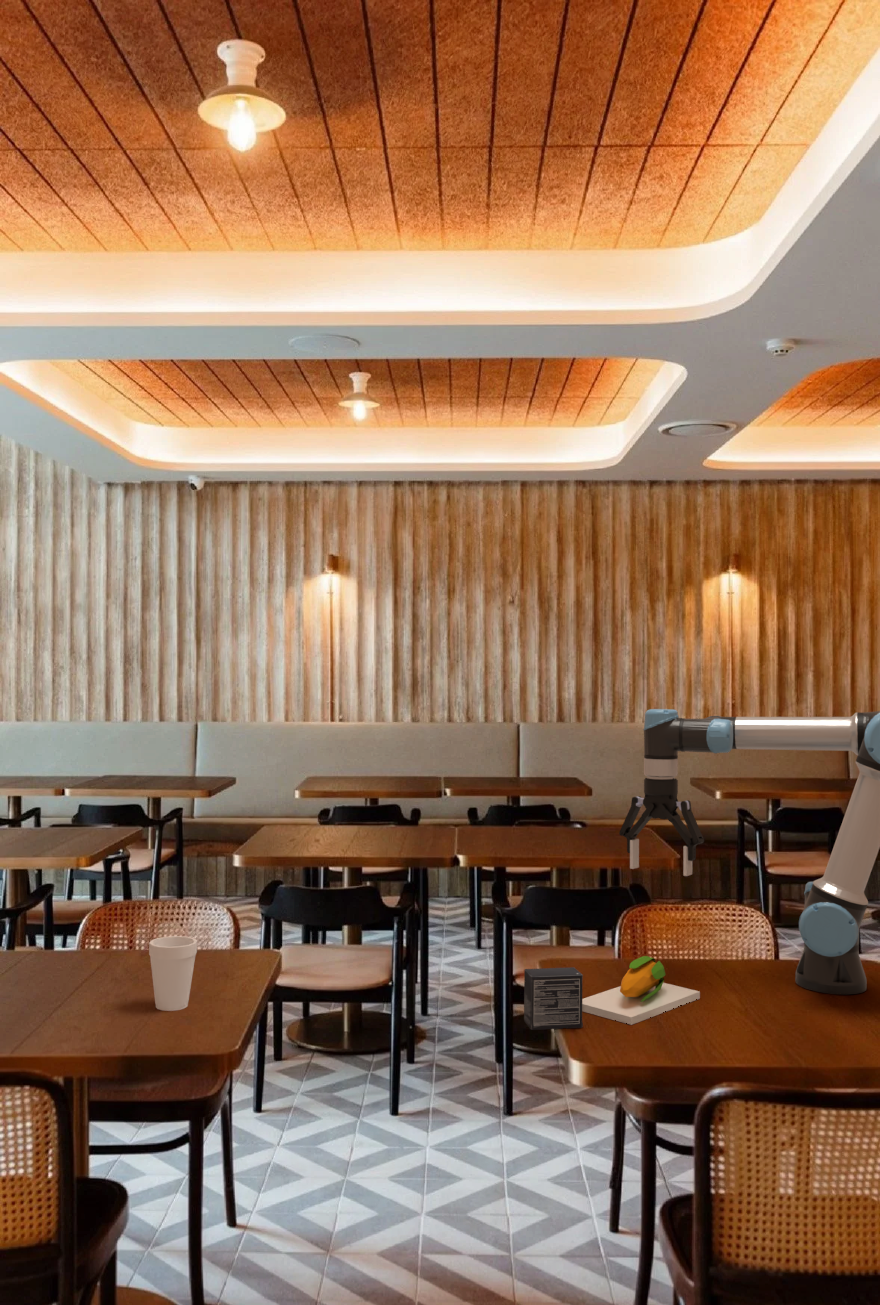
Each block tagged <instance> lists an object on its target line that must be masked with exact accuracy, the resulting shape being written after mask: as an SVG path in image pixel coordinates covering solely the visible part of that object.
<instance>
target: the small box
mask: <svg viewBox="0 0 880 1305" xmlns="http://www.w3.org/2000/svg"><path fill="white" fill-rule="evenodd" d="M523 971H524V973H523V974H524V979H523V980H524V981H523V982H524V985H523V988H524V989H523V990H524V991H523V992H524V993H523V998H524V999H523V1021H524V1023H525V1024H526V1025H527V1027H528V1028H529V1029H530V1030H532V1031H540V1030H541V1031H543V1030H560V1029H561V1030H562V1029H563V1028H566V1029H582V1028H583V1027H584V1026H583V1025H584V1024H583V1011H582V999H583V975H584V974H582V973H581V972H580V971H579V970H578V969H576V968H575V967H549V968H548V967H547V968H546V967H545V968H543V967H542V968H524V970H523ZM563 1030H564V1029H563Z"/></svg>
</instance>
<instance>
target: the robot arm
mask: <svg viewBox="0 0 880 1305" xmlns="http://www.w3.org/2000/svg"><path fill="white" fill-rule="evenodd" d="M643 727H644V728H643V747H644V748H643V756H644V757H643V775H644V776H645V777H644V779H643V793H644V797H641V796H640V795H638V796H633V797H631V803H630V808H629V810H628V811H627V815H626V816H625V819H624V821H623V824H622V826H621V827H620V830H619V832H618V833H619V836H621V837H623V838H625V839H626V852H627V853H628V854H629V869H630V870H631V869H632V870H634V869H638V868H640V857H639V856H640V839H639V838H638V837H637V836H638V835H639V834H640V833H641V832H642V830H643V829H644V828H645V826H646V825H647V824H648V823H649V821H650V820H651V819H660V820H668V821H669V823H671V824H672V825H673V827H674V829H675V830H676V831H677V833H678V834H679V836H680V837H681V839H683V841H684V843H685V845H683V851H682V852H683V858H682V859H683V863H682V864H683V869H682V870H683V872H682V873H683V874H682V875H683V876H684V877H688V876H691V875H693V861H695V860H696V857H697V856H696V855H697V854H696V852H697V848H696V847H697V845H701V844H703V843H704V842H705V839H704V836H703V834H702V832H701V830H700V828H699V825H698V822H697V821H696V820H697V819H696V818H695V815H694V813H693V811H692V805H691V804H692V803H691V801H690V800H688V799H687V800H683V801H679V800H678V794H679V791H678V790H679V780H678V778H676V777H678V774H679V773H678V772H679V770H678V766H679V764H678V762H679V761H678V760H679V759H678V758H679V757H678V756H679V755H678V753H679V752H682V753H683V752H688V753H689V752H690V753H711V754H712V753H713V754H720V753H723V754H725V753H726V754H727V753H730V752H731V751H732V750H768V751H769V750H771V751H772V750H774V751H776V750H778V751H779V750H783V751H785V750H786V751H788V750H789V751H839V752H840V751H841V752H842V751H843V752H848V751H849V752H852V753H854V754H855V755H856V756H857V757H856V759H855V762H854V763H855V764H856V767H857V769H858V771H859V773H858V776H857V780H856V782H855V785H854V788H853V790H852V793H851V796H850V799H849V802H848V805H847V808H846V811H845V813H844V816H843V819H842V823H841V825H840V827H839V830H838V833H837V836H836V839H835V842H834V844H833V848H832V851H831V853H830V856H829V859H828V861H827V864H826V865H827V866H826V867H825V870H824V873H823V876H822V877H820V878H818V879H815V880H813V881H807V883H806V884H805V889H804V892H803V894H804V895H803V896H804V908H803V909H802V913H801V914H800V916H799V920H798V931H799V934H800V937H801V939H802V940H803V941H802V942H803V946H804V947H803V950H802V953H801V956H800V959H799V961H798V964H797V967H796V970H795V974H794V975H795V983H796V985H798V986H799V987H801V988H803V989H806V990H809V991H812V992H816V993H823V994H831V995H857V994H861V993H864V992H865V991H867V981H868V980H867V977H866V972H865V970H864V967H863V963H862V961H861V957H860V953H859V950H860V949H859V948H860V946H859V945H860V927H861V924H862V921H863V919H864V916H865V914H866V910H867V907H868V904H869V901H868V899H867V896H866V894H865V891H866V887H867V884H868V881H869V879H870V876H871V872H872V871H873V868H874V865H875V863H876V859H877V856H878V854H879V850H880V710H876V711H865V712H855V713H854V714H853V715H851V716H720V715H711V716H708V717H706V718H682V717H679V714H678V710H676V709H672V708H671V709H669V708H650V709H648V710H646V712H645V713H644V726H643ZM643 806H644V808H645V810H644V811H643V812H642V814H641V816H640V817H639V819H638V820H637V821H636V819H637V817H638V815H639V813H640V810H641V808H642V807H643ZM678 809H679V810H680V811H681V815H682V818H683V819H684V821H685V822H684V821H683V820H682V819H681V816H680V814H679V812H678V811H677V810H678ZM635 822H636V823H635ZM634 823H635V824H634Z"/></svg>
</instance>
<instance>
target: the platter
mask: <svg viewBox="0 0 880 1305" xmlns="http://www.w3.org/2000/svg"><path fill="white" fill-rule="evenodd" d="M655 987H656V986H655ZM655 987H653V988H652V989H650V990H649V991H647V992H645V993H644V994H642V995H640V996H639V997H625V996H624V995H623V994H622V993H621V992H620V988H621V985H620V986H617V987H614V988H610V989H608V990H605V991H602V992H598V993H596V994H593V995H590V996H587V997H585V998H582V1013H586V1014H589V1015H590V1014H591V1015H594V1016H598V1017H602V1018H604V1019H608V1020H612V1021H615V1020H616V1021H615V1022H619V1023H623V1024H626V1023H627V1024H626V1025H630V1026H632V1025H635V1024H638V1023H640V1022H643V1021H645V1020H649V1019H651V1018H653V1017H655V1016H658V1015H660V1014H664V1013H666V1012H669V1011H671V1010H674V1009H676V1008H679V1007H681V1006H680V1005H682V1006H684V1005H687V1004H689V1002H690V1003H692V1002H694V1001H697V1000H700V998H701V992H700V990H699V991H698V990H695V989H690V988H687V987H683V986H680V985H679V986H678V985H674V984H671V983H666V982H663V984H662V987H661V989H660V990H659V991H658V992H656V993H655V994H653V995H652V996H651V997H649V998H648V999H646V1000H645V1001H643V1002H640V1001H642V999H643V998H644V997H645V996H646V995H648V994H650V993H651V992H652V991H653V990H655ZM696 999H697V1000H696ZM686 1003H687V1004H686ZM678 1006H679V1007H678ZM673 1008H674V1009H673ZM665 1011H666V1012H665ZM663 1012H664V1013H663ZM650 1017H651V1018H650Z"/></svg>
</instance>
